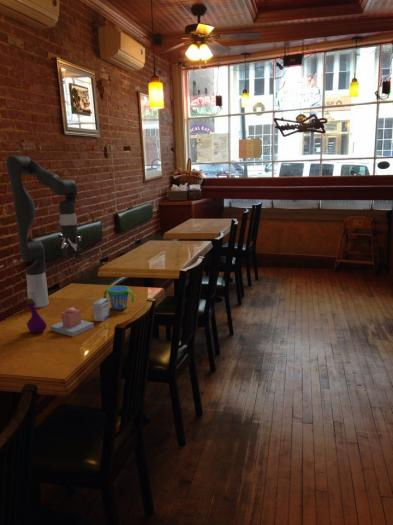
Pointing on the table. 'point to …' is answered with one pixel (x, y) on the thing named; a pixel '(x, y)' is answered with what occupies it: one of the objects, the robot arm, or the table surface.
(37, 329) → the perfume bottle
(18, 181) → the robot arm
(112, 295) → the snack cup
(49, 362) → the table surface
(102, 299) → the medicine box
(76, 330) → the panel
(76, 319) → the knob
